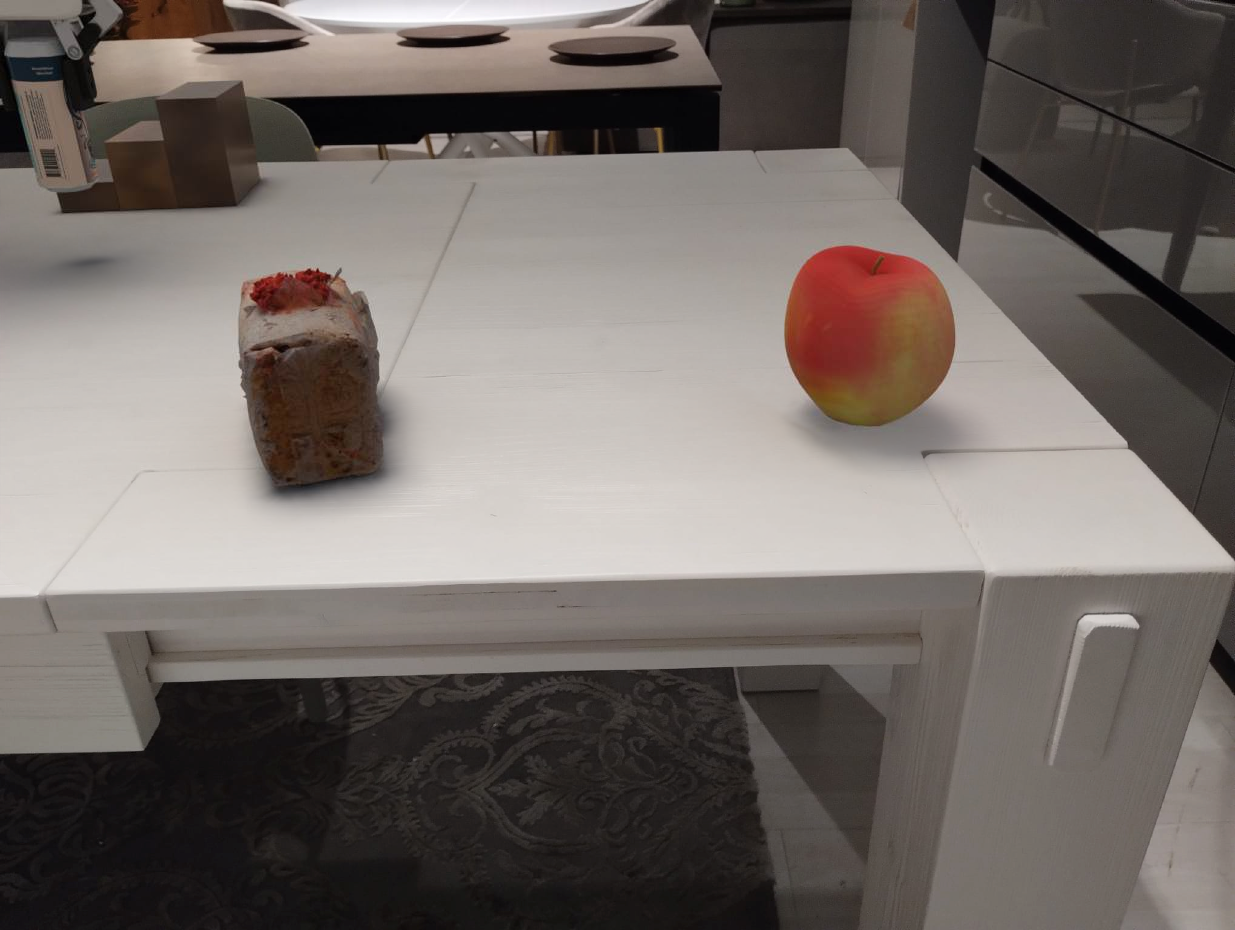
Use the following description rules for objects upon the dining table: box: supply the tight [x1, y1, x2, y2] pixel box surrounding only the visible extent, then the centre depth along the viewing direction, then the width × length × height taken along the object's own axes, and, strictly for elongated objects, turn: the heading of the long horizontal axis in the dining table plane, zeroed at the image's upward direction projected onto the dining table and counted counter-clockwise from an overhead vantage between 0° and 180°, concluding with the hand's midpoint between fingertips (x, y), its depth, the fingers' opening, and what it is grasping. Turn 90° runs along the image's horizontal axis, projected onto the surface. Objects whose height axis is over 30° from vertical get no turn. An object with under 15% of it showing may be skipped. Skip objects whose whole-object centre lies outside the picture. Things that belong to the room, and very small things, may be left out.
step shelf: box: [55, 79, 261, 213], centre depth 110 cm, size 18×12×11 cm, turn 95°
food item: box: [237, 267, 384, 487], centre depth 58 cm, size 14×8×10 cm, turn 20°
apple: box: [783, 244, 956, 428], centre depth 59 cm, size 10×10×10 cm
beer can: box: [4, 36, 99, 193], centre depth 86 cm, size 5×5×12 cm
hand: (50, 105), depth 85 cm, fingers closed on beer can, 4 cm apart
